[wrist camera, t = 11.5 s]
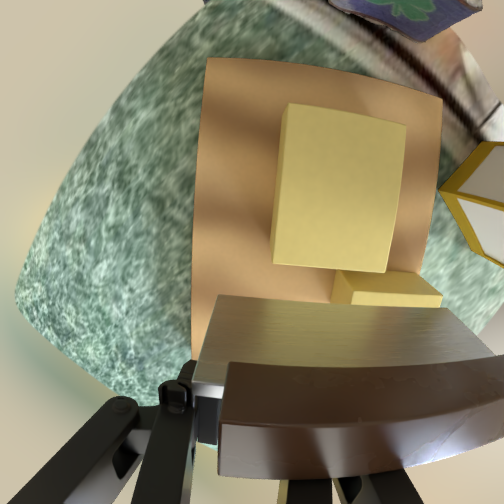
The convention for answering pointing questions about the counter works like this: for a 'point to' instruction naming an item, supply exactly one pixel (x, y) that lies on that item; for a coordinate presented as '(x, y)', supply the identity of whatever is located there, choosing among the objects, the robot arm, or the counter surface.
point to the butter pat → (383, 289)
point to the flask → (412, 14)
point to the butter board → (265, 170)
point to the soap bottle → (480, 200)
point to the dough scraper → (344, 387)
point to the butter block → (336, 189)
